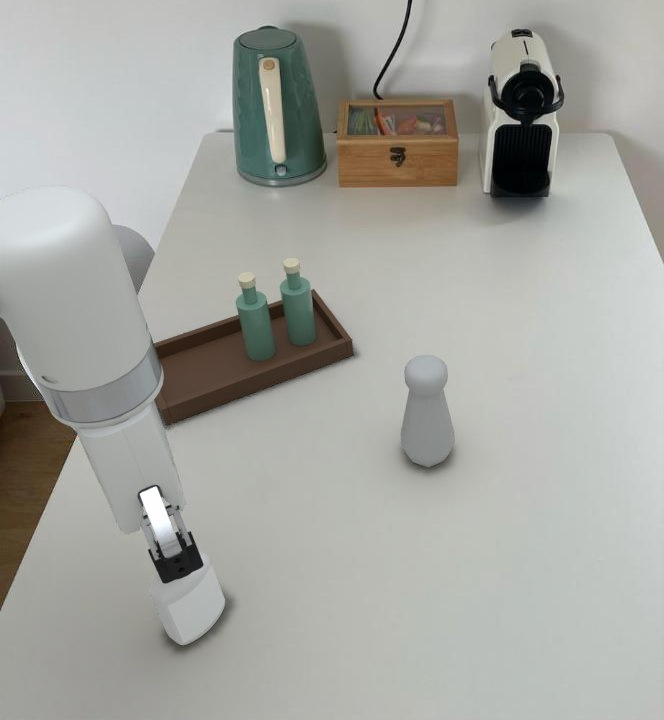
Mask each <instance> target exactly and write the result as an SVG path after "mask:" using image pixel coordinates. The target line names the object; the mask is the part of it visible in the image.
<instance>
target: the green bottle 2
mask: <svg viewBox="0 0 664 720" xmlns="http://www.w3.org/2000/svg"><path fill="white" fill-rule="evenodd" d="M282 266H283V267H282V268H283V271H284V272H285V276H286V279H284V280H282V281H281V283H280V284H279V293H280V298H281V299H280V300H282V304H283V310H284V316H285V322H286V327H287V333H288V339H289V341H290V342H291V343H292V344H294V345H298V346H304V345H308V344H310V343H312V342H314V341H315V339H316V338H317V330H316V323H315V316H314V309H313V302H312V295H311V290H312V289H311V282H310V281H309V280H308V279H307V278H306V277H303V276H301V273H300V271H301V263H300V260H299V259H298V258H297V257H288V258H286V259H284V260H283V261H282Z"/></svg>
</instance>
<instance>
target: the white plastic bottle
mask: <svg viewBox="0 0 664 720" xmlns="http://www.w3.org/2000/svg"><path fill="white" fill-rule="evenodd" d="M198 551H199V553H200V556H201V559H202V561H203V564H204V565H203V567H202V568H200V569H198V570H196V571H194V572H192V573H191V574H190V575H188V576H186V577H184V578H181V579H176V580H174V581H172V582H169V583H166V584H164V583H162V581H161V579H160V576H159V574H158V572H157V573H156V575H155V576H154V578H153V579H152V582H151V584H150V587H149V597H150V599H151V601H152V604H153V606H154V608H155V611H156V613H157V615H158V617H159V620H160V622H161V623H162V626H163V628H164V630H165V632H166V634H167V636H168V637H169V638H170V639H171V640H172V641H173V642H175V644H178V645H180V646H186V645H189V644H191V643H193V642H195V641H196V640H199V639H200V638H201V637H202V636H204V635H205V634H206V633H207V632H208V631H210V630H211V628H212V627H213V626H214V625H215V624H216V623H217V621H218V620H219V618H220V617H221V615H222V614H223V611H224V609H225V606H226V598H225V595H224V593H223V589H222V587H221V584H220V581H219V578H218V575H217V572H216V570H215V566H214V564H213V561H212V560H211V557H209V555H207V554H206V553H205V552H204V551H202V550H200V549H199V548H198Z"/></svg>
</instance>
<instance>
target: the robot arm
mask: <svg viewBox="0 0 664 720" xmlns="http://www.w3.org/2000/svg"><path fill="white" fill-rule="evenodd" d="M0 319H2V320H3V321H4V323H5V324H6V326H7V328H8V330H9V332H10V334H11V336H12V338H13V340H14V342H15V344H16V346H17V348H18V351H19V352H20V354H21V355H22V358H23V360H24V362H25V364H26V366H27V368H28V370H29V372H30V374H31V376H32V378H33V380H34V382H35V384H36V386H37V388H38V390H39V392H40V395H41V397H42V399H43V400H44V402H45V404H46V406H47V407H48V410H49V411H50V413H51V415H52V417H54V418H55V419H56V420H57V421H58V422H60V423H61V424H63V425H66V426H68V427H71V428H74V429H75V431H76V434H77V436H78V438H79V441H80V444H81V447H82V448H83V451H84V453H85V455H86V457H87V460H88V462H89V465H90V466H91V468H92V470H93V474H94V475H95V477H96V479H97V482H98V484H99V486H100V488H101V490H102V492H103V495H104V497H105V499H106V501H107V503H108V506H109V508H110V510H111V512H112V515H113V516H114V519H115V522H116V524H117V527H118V529H119V531H120V532H121V533H122V534H124V535H131V534H134V533H136V532H139V531H140V529H142V532H143V534H144V537H145V539H146V541H147V544H148V547H149V548H148V549H147V552H148V555H149V556H150V557H149V558H150V559H151V561H152V564H153V565H154V568H155V570H156V572H157V573H158V574H159V576H160V579H161V581H162V583H164V584H166V583H169V582H172V581H174V580H176V579H181V578H184V577H186V576H188V575H190V574H191V573H192V572H194V571H196V570H198V569H200V568H202V567H203V565H204V564H203V561H202V559H201V556H200V553H199V551H198V549H199V548H198V545H197V543H196V540H195V538H194V536H193V535H194V534H193V533H192V531H191V530H189V531H188V529H187V527H186V525H185V523H184V520H183V517H182V515H181V513H182V512H183V511H184V509H185V507H186V505H187V501H186V497H185V494H184V490H183V487H182V482H181V478H180V475H179V472H178V469H177V464H176V462H175V458H174V455H173V451H172V449H171V445H170V442H169V438H168V435H167V433H166V429H165V427H164V424H163V421H162V418H161V415H160V413H159V408H158V405H157V403H156V401H155V398H156V396H157V395H158V393H159V391H160V389H161V387H162V385H163V379H164V373H163V369H162V366H161V363H160V360H159V357H158V354H157V352H156V349H155V346H154V343H155V342H154V341H153V338H152V334H151V332H150V329H149V326H148V322H147V320H146V317H145V315H144V312H143V309H142V305H141V303H140V300H139V297H138V295H137V291H136V288H135V286H134V282H133V280H132V276H131V274H130V271H129V267H128V265H127V263H126V259H125V257H124V253H123V250H122V247H121V245H120V241H119V239H118V236H117V233H116V231H115V228H114V225H113V223H112V220H111V218H110V215H109V213H108V211H107V209H106V208H105V206H104V205H103V203H102V202H101V201H100V200H99V199H97V198H96V197H95V196H94V195H92V194H91V193H89V192H88V191H86V190H84V189H82V188H78V187H74V186H69V185H62V184H50V185H49V184H48V185H40V186H34V187H30V188H25V189H21V190H19V191H15V192H13V193H10V194H8V195H5V196H4V197H2V198H0ZM163 499H164V500H165V501H163ZM164 502H166V503H168V505H165V504H164ZM143 507H144V508H143ZM144 510H145V512H146V514H144ZM171 516H172V518H173V519H174V522H175V525H176V527H177V530H178V531H175V528H174V527H173V523H172V521H171V518H170V517H171ZM153 532H154V533H153Z"/></svg>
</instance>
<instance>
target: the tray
mask: <svg viewBox="0 0 664 720" xmlns="http://www.w3.org/2000/svg"><path fill="white" fill-rule="evenodd" d="M311 295H312V302H313V309H314V316H315V323H316V330H317V338H316V339H315V341H314V342H312V343H310V344H308V345H304V346H298V345H294V344H292V343H291V342H290V341H289V339H288V333H287V327H286V322H285V316H284V310H283V304H282V299H279V300H276V301H274V302H271V303H268V308H269V314H270V319H271V324H272V329H273V335H274V340H275V345H276V352H275V354H274V355H273V356H272V357H271V358H269V359H267V360H263V361H255V360H252V359H250V358H249V357H248V355H247V352H246V347H245V343H244V338H243V334H242V329H241V325H240V320H239V316H238V314H236V315H233V316H230V317H228V318H224V319H222V320H218V321H215V322H212V323H209V324H206V325H204V326H201V327H197V328H195V329H192V330H189V331H186V332H183V333H179V334H177V335H174V336H171V337H168V338H166V339H162V340H160V341H156V342H153V343H154V346H155V349H156V352H157V354H158V357H159V360H160V363H161V366H162V369H163V373H164V379H163V385H162V387H161V389H160V391H159V393H158V395H157V396H156V398H155V399H154V401H155V404H156V406H157V409H158V411H160V414H161V415H160V416H161V417H162V420H163V422H164V424H165V426H169V425H171V424H175V423H177V422H180V421H182V420H186V419H187V418H190V417H193V416H196V415H198V414H201V413H203V412H206V411H209V410H212V409H215V408H217V407H220V406H222V405H225V404H227V403H229V402H234V401H236V400H238V399H241V398H244V397H247V396H248V395H251V394H254V393H257V392H260V391H262V390H264V389H267V388H270V387H272V386H275V385H278V384H281V383H283V382H286V381H289V380H291V379H294V378H296V377H299V376H303V375H305V374H307V373H310V372H314V371H315V370H319V369H321V368H323V367H326V366H328V365H331V364H334V363H336V362H339V361H342V360H345V359H348V358H350V357H352V356H354V355H355V354H354V344H353V338H352V337H351V336H350V335H349V333H348V332H347V330H346V329H345V328H344V327H343V325H342V324H341V322H339V320H338V319H337V318H336V316H335V314H333V312H332V311H331V309H330V308H329V307H328V306H327V304H326V303H325V301H324V300H323V298H321V296H320V295H319V293H318V292H317V290H315V288H313V289H311Z"/></svg>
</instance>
